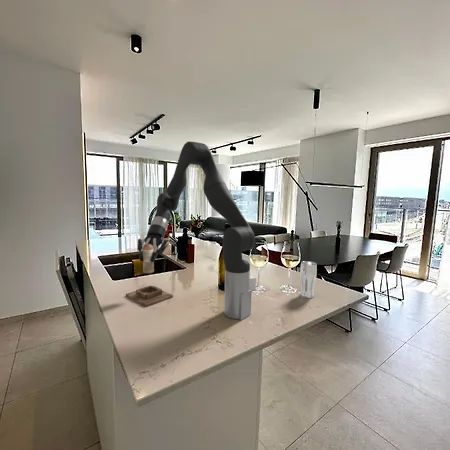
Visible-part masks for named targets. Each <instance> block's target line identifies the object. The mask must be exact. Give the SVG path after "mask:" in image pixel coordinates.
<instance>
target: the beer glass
mask: <svg viewBox="0 0 450 450" xmlns="http://www.w3.org/2000/svg"><path fill="white" fill-rule="evenodd" d="M317 265H318V264H317V263H316V262H315V261H307V260H304V261H301V262H300V271H299V275H300V285H301V287H300V293H299V296H300V297H302V298H304V299H313V298H314V297H315V293H314V289H315V284H316V279H317V273H318V272H317V271H318V269H317Z"/></svg>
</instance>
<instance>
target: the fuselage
mask: <svg viewBox="0 0 450 450" xmlns="http://www.w3.org/2000/svg"><path fill="white" fill-rule="evenodd" d="M143 245H144V244H143ZM142 248H143V261H142V272H143V274H152V273H154V272H155V268H154V267H155V264H154V263H155V261H154V262H151V261H150V259H151V256H152V253H154V248H153V246H152V245H151V244H146V245H144V246H142Z"/></svg>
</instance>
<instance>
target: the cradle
mask: <svg viewBox="0 0 450 450" xmlns="http://www.w3.org/2000/svg"><path fill="white" fill-rule="evenodd" d="M125 297H127V298H129V299H130V300H132V301H134V302H136V303H138V304H140V305H142V306H144V307H146V308H148V307H150V306H153V305H156V304H158V303H161V302H165V301H166V300H169V299H171V298H173V297H174V295H173V294H171V293H168V292H167V291H163V289H162V288H160V287H157V286H155V285H149V286H145V287H141V288H138V289H135V290H134V291H131V292H128V293H125Z"/></svg>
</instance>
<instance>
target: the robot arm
mask: <svg viewBox="0 0 450 450" xmlns="http://www.w3.org/2000/svg"><path fill="white" fill-rule="evenodd" d="M216 164H217V163H216V161H215V159H214V156H213V154H212V151H211V149H210V148H209V146H208V145H207V144H205V143H202V142H197V141H186V142H185V144H183V146H182V149H181V151H180V154H179V157H178V160H177V164H176V167H175V170H174V174H173V175H172V178H171V180H170V182H169V184H168V186H167V188H166V189H165V190H166V193H165V192H161V193H160V194H158V196H157V200H156V210H155V215H154V217H153V219H152V220H151V221H150V225H149V228H148V230H147V233H146V237H144V239H141V238H138V240H137V247H136V249H137V251H138V253H139V255H138V260H139V261H140V262H142V263H143V246H144V245H146V244H151V245H152V246H153V251H154V253H152V256H151V259H150V261H151V262H154V263H155V261H156V259H157V257H158V255H162V254H163V253H164V252H165V250H166V249H167V248H168V246H169V243H168V241H167V239H165V240H164V238H165V235H166V232H167V230H168V227H169V223H170V222H169V221H170V219H171V216H172V215H171V212H175V211H177V209H178V207H179V201H180V198H181V195H182V193H183V191H184V190H185V189H186V186H187V175H186V174H187V173H186V171H187V169H188V167H189V166H190V165H194V166H200V168H201V170H202V171H203V173H204V182H203V192H204V196H205V197H206V199H207V202H208V203H209V206H210V207H212V209H213V210H214V211H215V212H217V213H218V214H219V215H220V216H221V217H222V218H223V219H224V220H226V222H227V223H228V225H229V226H230V227H228V228H226V229H225V230H224V232H223V235H222V258H223V260H222V261H223V265H224V309H223V312H224V315H225V316H226V317H227V318H229V319H235V320H240V321H243V320H244V319H246V318H248V317H249V316H250V315H251V314H252V291H253V290H252V291H251V290H249V281H250V274H251V272H250V271H251V264H250V261H248V260H246V259H243V252H245V251H249V250H251V249H253V248H254V247H255V245H256V235H255V232H254V230H253V229H252V227H251V225H250V224H249V223H248V221H247V220H246V218H245V216H244V215H243V214H242V212H241V210H240V208H239V207H238V205H237V204H236V202H235V199H234V198H233V196H232V194H231V192H230V189H229V188H228V186H227V184H226V182H225V181H224V179H223V177H222V175H221V174H220V173H221V172H220V171H219V169H218V166H217V165H216Z"/></svg>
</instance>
